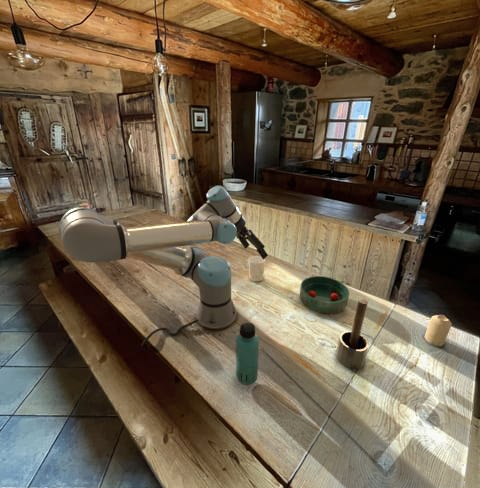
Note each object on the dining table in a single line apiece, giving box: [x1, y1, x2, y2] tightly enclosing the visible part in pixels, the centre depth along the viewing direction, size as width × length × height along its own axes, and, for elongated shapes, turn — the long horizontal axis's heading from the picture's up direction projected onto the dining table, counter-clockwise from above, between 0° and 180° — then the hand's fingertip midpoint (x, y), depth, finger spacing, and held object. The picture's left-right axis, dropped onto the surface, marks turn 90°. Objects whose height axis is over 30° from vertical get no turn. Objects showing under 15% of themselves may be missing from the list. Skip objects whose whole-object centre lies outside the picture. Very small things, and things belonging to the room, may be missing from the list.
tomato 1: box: [309, 291, 316, 298], centre depth 112 cm, size 3×3×3 cm
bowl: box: [299, 275, 350, 315], centre depth 111 cm, size 19×19×6 cm
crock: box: [335, 330, 370, 370], centre depth 83 cm, size 8×8×8 cm
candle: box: [424, 314, 453, 347], centre depth 90 cm, size 6×6×10 cm
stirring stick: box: [348, 298, 369, 349], centre depth 79 cm, size 2×2×22 cm
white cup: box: [247, 255, 266, 282], centre depth 126 cm, size 8×8×10 cm
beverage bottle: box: [235, 322, 260, 386], centre depth 73 cm, size 6×7×20 cm
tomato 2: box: [331, 293, 338, 301], centre depth 111 cm, size 3×3×3 cm
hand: (256, 251), depth 121 cm, fingers open, 13 cm apart
